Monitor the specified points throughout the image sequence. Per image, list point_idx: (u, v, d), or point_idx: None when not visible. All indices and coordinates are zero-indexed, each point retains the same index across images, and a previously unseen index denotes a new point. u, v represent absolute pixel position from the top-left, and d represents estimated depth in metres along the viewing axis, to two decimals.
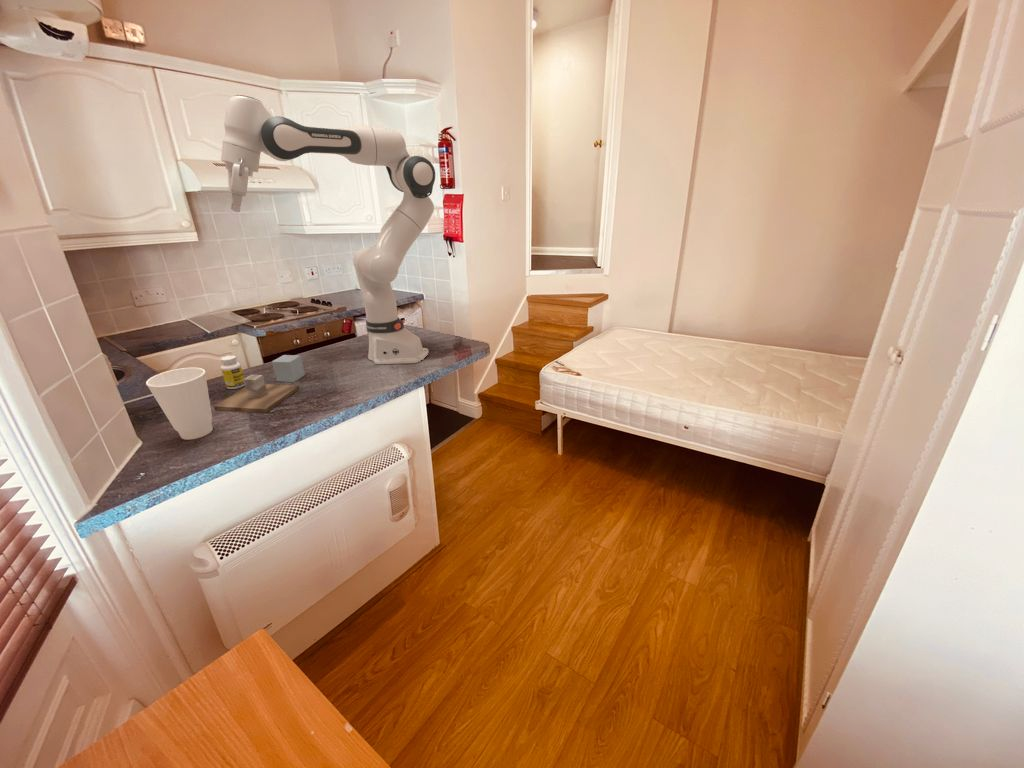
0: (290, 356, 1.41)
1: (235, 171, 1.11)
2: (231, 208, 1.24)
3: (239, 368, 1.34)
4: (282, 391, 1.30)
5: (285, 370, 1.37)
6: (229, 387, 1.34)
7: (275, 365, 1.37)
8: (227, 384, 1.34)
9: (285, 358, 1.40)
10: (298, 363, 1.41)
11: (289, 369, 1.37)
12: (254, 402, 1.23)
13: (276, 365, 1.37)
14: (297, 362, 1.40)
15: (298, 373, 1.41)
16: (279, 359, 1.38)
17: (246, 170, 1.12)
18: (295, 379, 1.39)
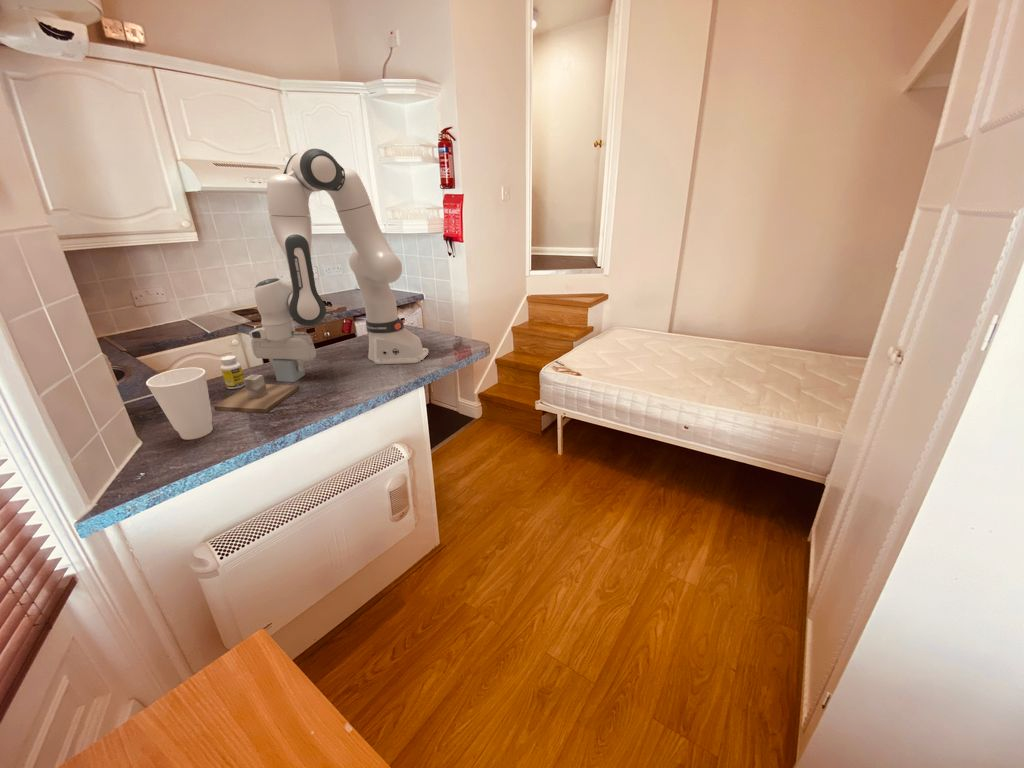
0: None
1: (307, 344, 1.35)
2: None
3: (239, 368, 1.34)
4: (282, 391, 1.30)
5: (285, 370, 1.37)
6: (229, 387, 1.34)
7: (275, 365, 1.37)
8: (227, 384, 1.34)
9: None
10: (298, 363, 1.41)
11: (289, 369, 1.37)
12: (254, 402, 1.23)
13: (276, 365, 1.37)
14: None
15: (298, 373, 1.41)
16: (279, 359, 1.38)
17: None
18: (295, 379, 1.39)
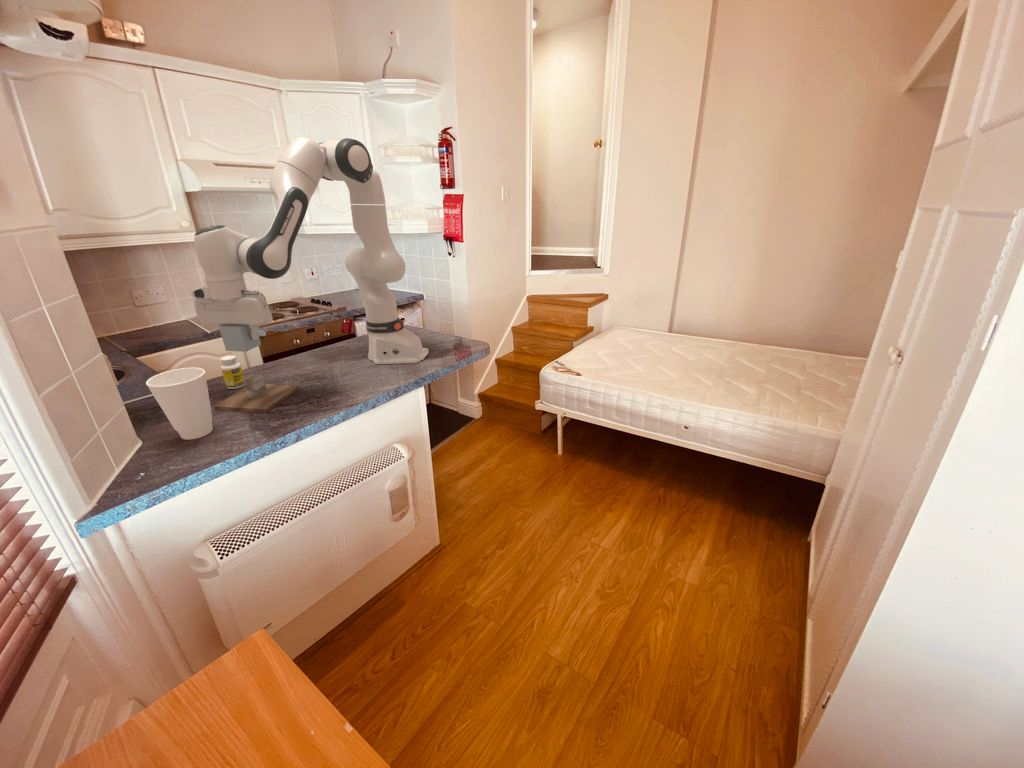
0: None
1: (260, 305, 1.13)
2: None
3: (239, 368, 1.34)
4: (282, 391, 1.30)
5: (235, 337, 1.16)
6: (229, 387, 1.34)
7: (223, 331, 1.16)
8: (227, 384, 1.34)
9: None
10: None
11: (240, 336, 1.16)
12: (254, 402, 1.23)
13: (224, 331, 1.16)
14: (251, 328, 1.19)
15: (251, 341, 1.19)
16: (228, 324, 1.17)
17: None
18: (248, 348, 1.18)
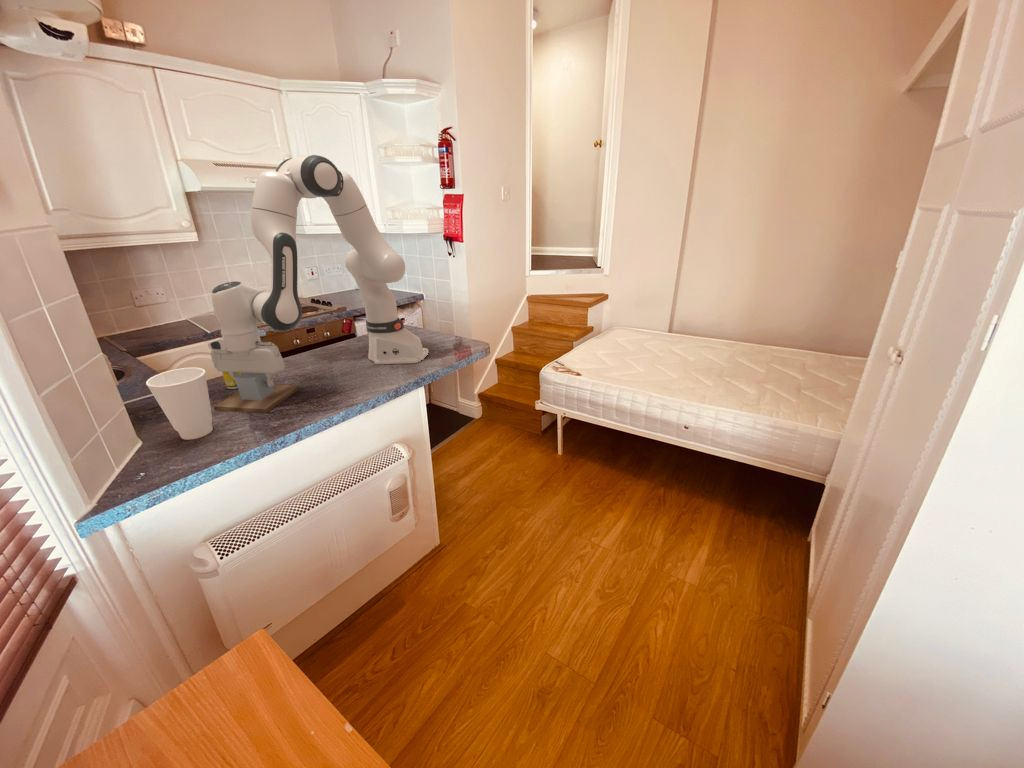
0: None
1: (273, 356, 1.19)
2: None
3: None
4: (282, 391, 1.30)
5: (250, 387, 1.23)
6: (229, 387, 1.34)
7: (239, 382, 1.22)
8: (227, 384, 1.34)
9: (251, 373, 1.25)
10: (265, 379, 1.26)
11: (255, 386, 1.22)
12: (254, 402, 1.23)
13: (240, 382, 1.22)
14: (265, 378, 1.25)
15: (265, 390, 1.26)
16: (244, 375, 1.24)
17: None
18: (262, 397, 1.25)
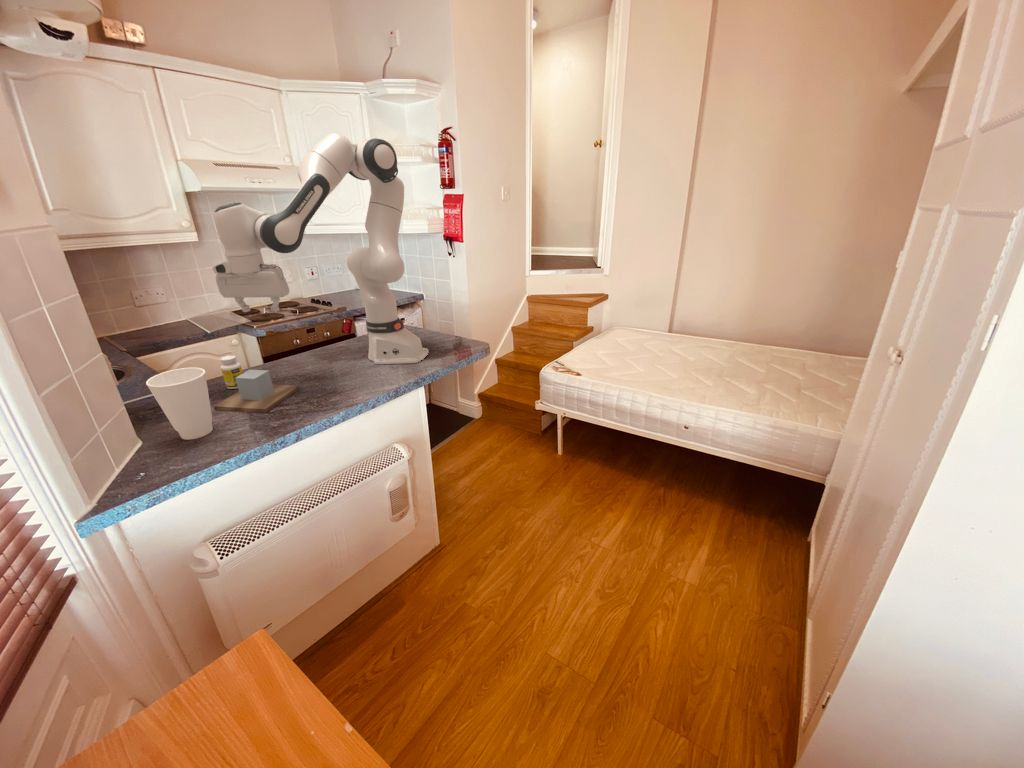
0: (257, 371, 1.26)
1: (278, 278, 1.21)
2: (246, 310, 1.27)
3: (239, 368, 1.34)
4: (282, 391, 1.30)
5: (250, 387, 1.23)
6: (229, 387, 1.34)
7: (239, 382, 1.22)
8: (227, 384, 1.34)
9: (251, 373, 1.25)
10: (265, 379, 1.26)
11: (255, 386, 1.22)
12: (254, 402, 1.23)
13: (240, 382, 1.22)
14: (265, 378, 1.25)
15: (265, 390, 1.26)
16: (244, 375, 1.24)
17: None
18: (262, 397, 1.25)
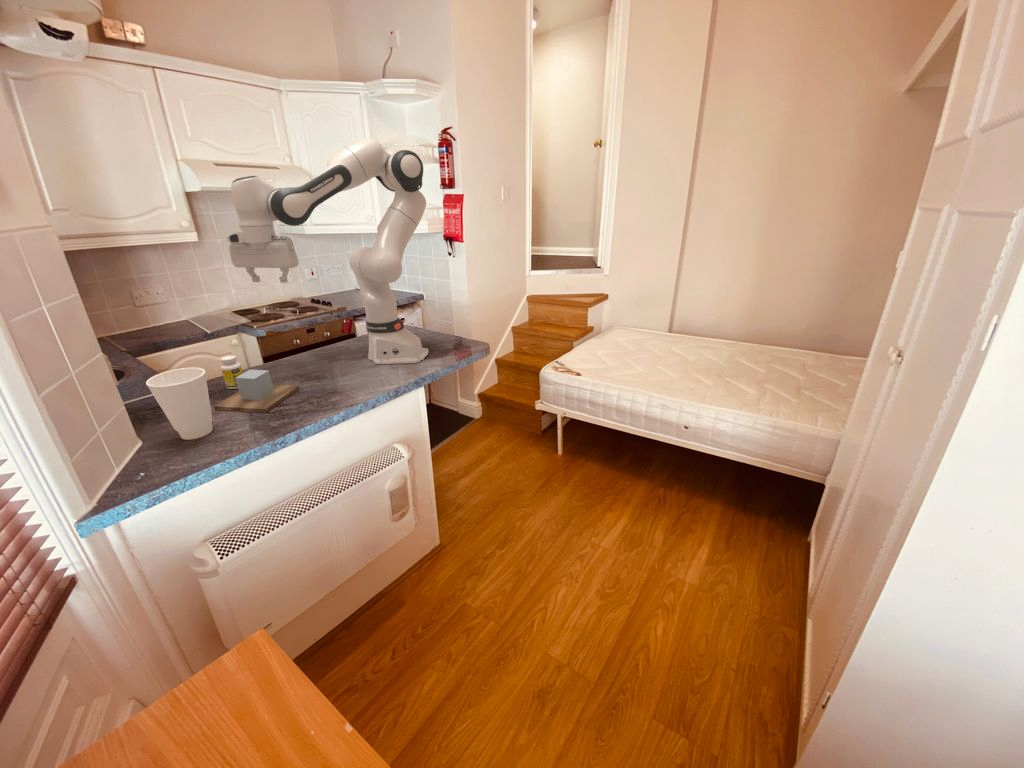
0: (257, 371, 1.26)
1: (288, 249, 1.27)
2: (256, 281, 1.33)
3: (239, 368, 1.34)
4: (282, 391, 1.30)
5: (250, 387, 1.23)
6: (229, 387, 1.34)
7: (239, 382, 1.22)
8: (227, 384, 1.34)
9: (251, 373, 1.25)
10: (265, 379, 1.26)
11: (255, 386, 1.22)
12: (254, 402, 1.23)
13: (240, 382, 1.22)
14: (265, 378, 1.25)
15: (265, 390, 1.26)
16: (244, 375, 1.24)
17: None
18: (262, 397, 1.25)
